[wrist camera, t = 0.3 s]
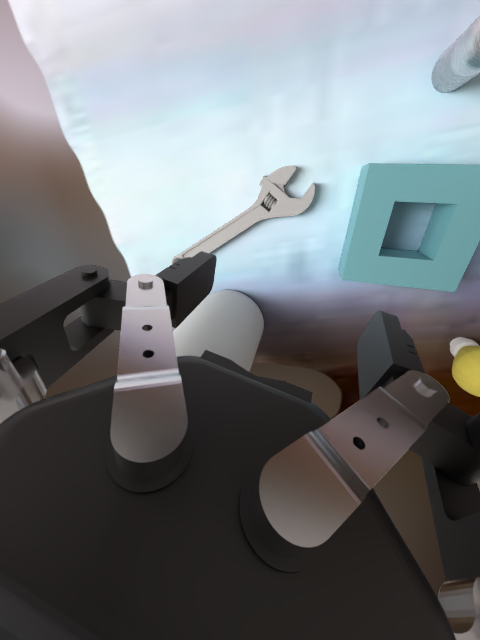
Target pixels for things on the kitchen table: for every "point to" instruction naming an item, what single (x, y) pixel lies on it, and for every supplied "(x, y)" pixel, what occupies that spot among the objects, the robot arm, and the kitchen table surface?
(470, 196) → the socket block
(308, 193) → the adjustable wrench
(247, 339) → the cylinder vase
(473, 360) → the light bulb
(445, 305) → the kitchen table surface
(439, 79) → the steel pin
